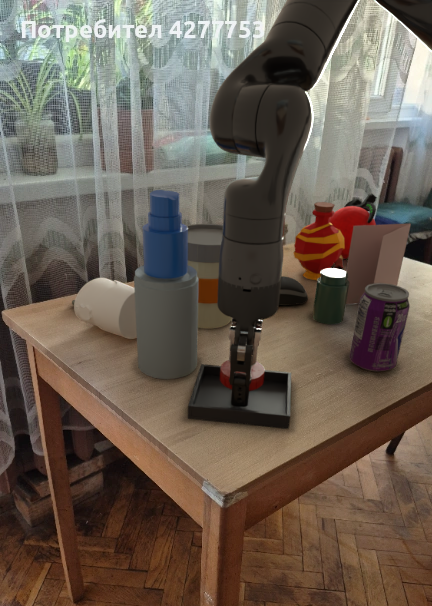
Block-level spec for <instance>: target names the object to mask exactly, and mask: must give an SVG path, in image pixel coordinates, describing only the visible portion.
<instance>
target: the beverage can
mask: <svg viewBox="0 0 432 606" xmlns="http://www.w3.org/2000/svg"><path fill="white" fill-rule="evenodd" d="M409 297H410V292H409V291H408V290H407V289H406V288H404V287H401V286H400V285H397V286H396V285H392V284H386V283H375V284H370V285H367V286H366V287H365V292H364V294H363V295H362V296H361V298H360V301H359V303H358V307H357V312H356V318H355V322H354V327H353V334H352V339H351V345H350V351H349V360H350V361H351V362H352V363H353V364H354V365H356V366H357V367H359V368H361V369H362V370H365V371H369V372H384V371H390V370H392V369H394V368H395V367H396V365H397V362H398V358H399V354H400V351H401V346H402V341H403V338H404V334H405V333H404V332H405V328H406V324H407V320H408V316H409V311H410V307H411V306H410V301H409Z"/></svg>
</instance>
